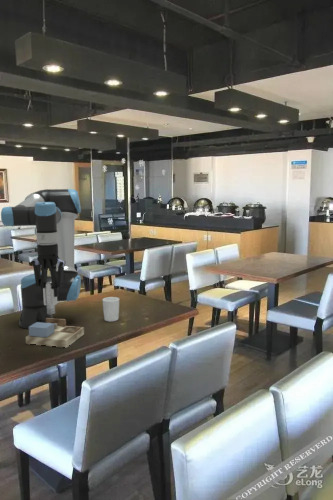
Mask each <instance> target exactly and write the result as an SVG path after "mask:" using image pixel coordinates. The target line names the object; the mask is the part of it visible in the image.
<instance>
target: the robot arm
mask: <svg viewBox="0 0 333 500" xmlns="http://www.w3.org/2000/svg"><path fill="white" fill-rule="evenodd" d="M81 213H82V207H81V200H80V194H79V192H78V190H76V189H71V188H63V189H61V188H60V189H59V188H56V189H53V188H52V189H51V188H50V189H48V188H47V189H40V190H37V191H35V192H32V193H30V194H28V195H27V196H26V197H25V198H24V200H22V202H20V203H18V204H17V205H15V206H4V207H2V209H1V211H0V219H1V220H0V221H1V223H2V225H3V226H5V227H25V226H27V227H30V226H31V227H32V226H35V233H36V243H37V245H36V254H37V257H36V259H34V260H31V262H30V263H31V265H32V268H33V274H32V273H31V274H28V275H26V276H23V277H22V278H21V280H20V292H21V312H20V316H19V320H18V325H19V327H20V328H22V329H28V330H29V326H31V325H33V324H34V323H36V322H41V323H46V318H54V316H53V314H47V304H46V287H45V283H46V282H52V285H53V288H52V289H51V295H52V306H54V305H55V306H56V305H58V302H69V301H70V302H71V301H77V300H78V299H79V297H80V293H81V288H82V287H81V284H82V276H81V275H79V274H78V273H79V272H78V271H77V270H76V268H75V220H76V219H77V218H78V217H79V214H81ZM48 271H49V273H50V275H48Z"/></svg>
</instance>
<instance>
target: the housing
mask: <svg viewBox="0 0 333 500" xmlns="http://www.w3.org/2000/svg"><path fill="white" fill-rule="evenodd" d="M53 333H54V323H41V322H36V323H34V324H33V325H31V326H29V329H28V335H29V336H37V337H48V336H50V335H51V334H53Z"/></svg>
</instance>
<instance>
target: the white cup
mask: <svg viewBox="0 0 333 500" xmlns="http://www.w3.org/2000/svg"><path fill="white" fill-rule="evenodd" d="M102 310H103V319H104V321H106V322H117V321H118V320H119V313H120V297H116V296H109V297H104V298H102Z"/></svg>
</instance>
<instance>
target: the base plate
mask: <svg viewBox="0 0 333 500" xmlns="http://www.w3.org/2000/svg"><path fill="white" fill-rule="evenodd" d="M46 323H54V333H53V334H51V335H50V336H48V337H37V336H29V334H28V335H27V336H25V344H26V345H30V344H36V345H35V346H41V345H46V346H45V347H52V346H56V347H55V348H63V347H65V349H66V348H68V347H70V346H71V345H72V344H73V343H75V342H76V341H77V340H78V339H80V338H81V337H82V336H83V335H85V327H84V326H73V325H71V326H70V325H67V319H65V318H54V317H53V318H46ZM69 345H70V346H69Z"/></svg>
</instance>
